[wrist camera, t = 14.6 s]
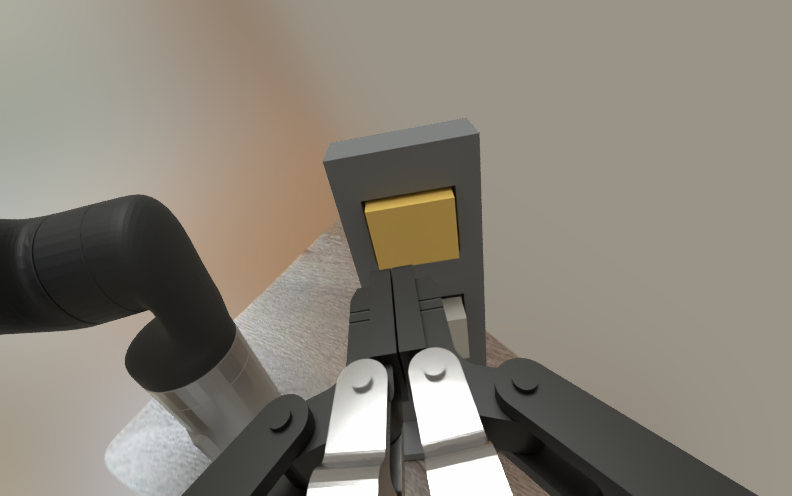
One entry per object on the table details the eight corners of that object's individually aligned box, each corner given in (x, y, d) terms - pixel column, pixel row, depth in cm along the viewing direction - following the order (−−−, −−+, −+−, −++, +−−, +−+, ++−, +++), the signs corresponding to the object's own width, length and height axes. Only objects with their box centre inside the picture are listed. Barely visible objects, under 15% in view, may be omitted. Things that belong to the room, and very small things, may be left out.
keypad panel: (505, 449, 37) (514, 148, 17) (398, 462, 37) (295, 187, 18) (485, 380, 44) (477, 112, 24) (396, 392, 44) (319, 141, 25)
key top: (459, 258, 24) (454, 197, 22) (379, 270, 25) (364, 212, 22) (453, 239, 27) (448, 182, 24) (380, 251, 27) (366, 196, 24)
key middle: (469, 357, 29) (466, 318, 26) (401, 366, 29) (392, 328, 27) (463, 335, 31) (460, 296, 28) (400, 344, 32) (391, 306, 29)
